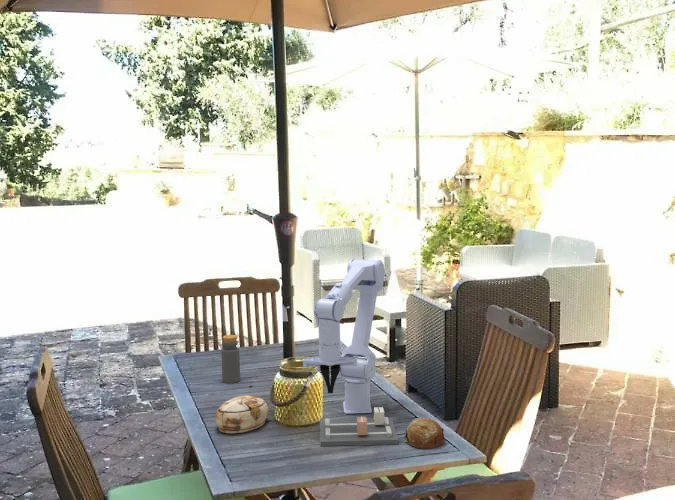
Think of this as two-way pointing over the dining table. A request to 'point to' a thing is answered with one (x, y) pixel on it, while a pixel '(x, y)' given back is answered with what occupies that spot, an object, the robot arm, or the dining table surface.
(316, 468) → the dining table surface
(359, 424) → the fader
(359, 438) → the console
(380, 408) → the fader
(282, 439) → the dining table surface
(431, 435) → the bread roll
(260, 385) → the dining table surface
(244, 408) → the trinket box
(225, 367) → the bottle
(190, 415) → the dining table surface
